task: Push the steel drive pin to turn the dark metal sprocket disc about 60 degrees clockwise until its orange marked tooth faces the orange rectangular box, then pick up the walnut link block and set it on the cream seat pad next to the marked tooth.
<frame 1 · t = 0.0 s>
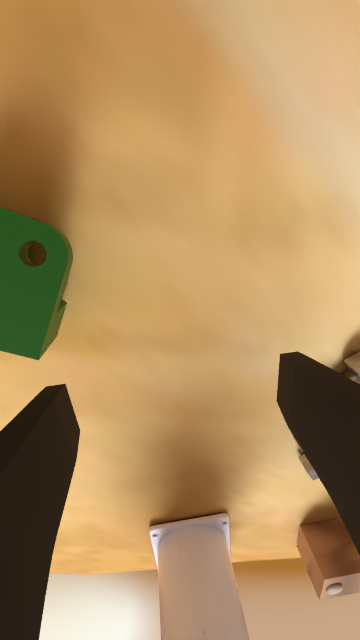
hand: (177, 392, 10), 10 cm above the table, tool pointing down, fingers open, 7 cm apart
link block: (323, 530, 34), on the table
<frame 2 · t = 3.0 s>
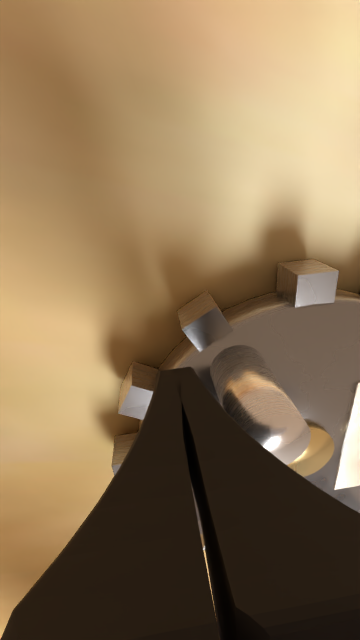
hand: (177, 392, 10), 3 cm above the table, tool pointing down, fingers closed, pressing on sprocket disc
sprocket disc: (307, 466, 12), point 3 cm above the table, hinge at 0.0°, touching gripper
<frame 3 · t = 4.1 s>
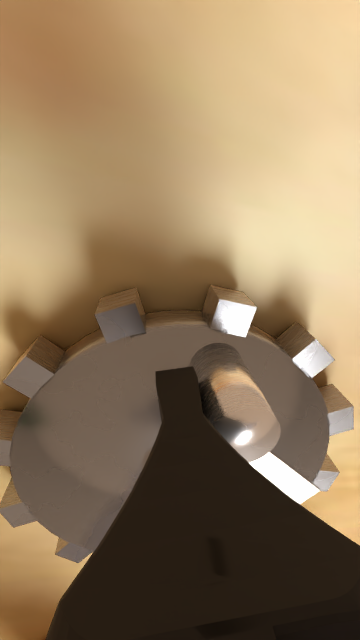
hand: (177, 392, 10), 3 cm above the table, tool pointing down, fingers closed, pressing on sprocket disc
sprocket disc: (181, 488, 12), point 3 cm above the table, hinge at -49.7°, touching gripper
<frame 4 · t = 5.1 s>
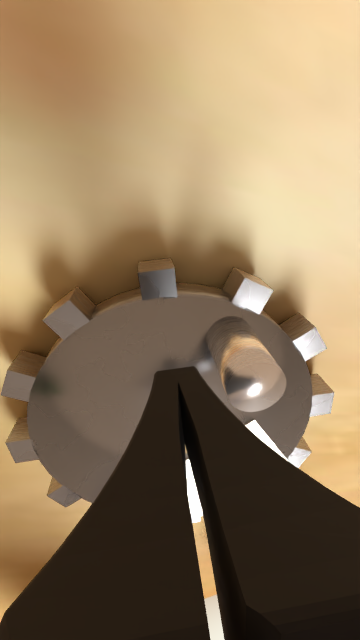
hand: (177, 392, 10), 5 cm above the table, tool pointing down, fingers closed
sprocket disc: (178, 442, 14), point 3 cm above the table, hinge at -59.7°
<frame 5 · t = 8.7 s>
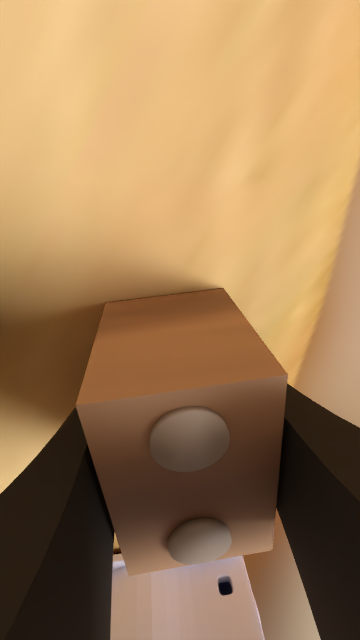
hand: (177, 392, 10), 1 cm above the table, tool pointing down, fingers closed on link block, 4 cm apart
link block: (173, 368, 11), on the table, touching gripper
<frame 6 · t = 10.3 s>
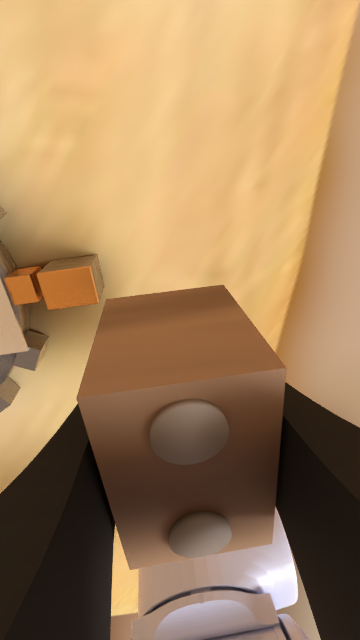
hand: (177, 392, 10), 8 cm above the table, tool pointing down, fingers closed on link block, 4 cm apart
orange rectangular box: (78, 273, 16), on the table
link block: (174, 365, 11), point 7 cm above the table, touching gripper
when the fingers open (5 cm above the table, at t = 12.1 s): link block drops 1 cm, resting on sprocket disc.
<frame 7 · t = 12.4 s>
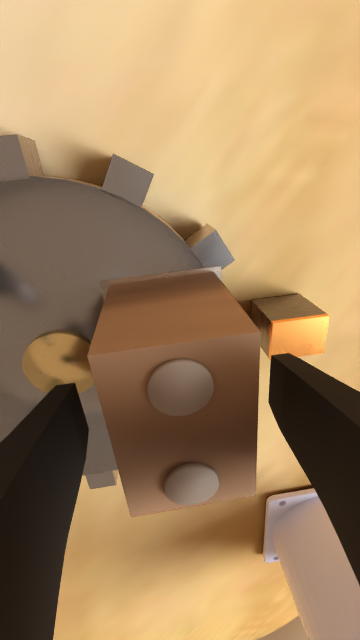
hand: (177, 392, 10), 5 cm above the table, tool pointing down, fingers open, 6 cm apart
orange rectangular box: (274, 313, 15), on the table
sprocket disc: (58, 375, 12), point 3 cm above the table, hinge at -59.7°, touching link block
link block: (170, 345, 13), point 2 cm above the table, touching sprocket disc
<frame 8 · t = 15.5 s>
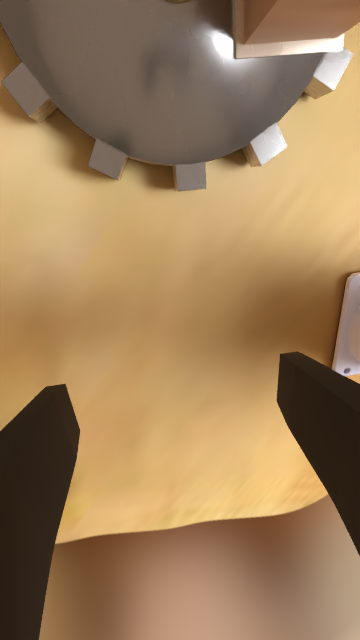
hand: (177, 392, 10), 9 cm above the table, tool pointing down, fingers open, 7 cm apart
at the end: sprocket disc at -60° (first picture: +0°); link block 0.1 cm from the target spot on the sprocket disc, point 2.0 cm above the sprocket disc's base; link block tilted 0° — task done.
